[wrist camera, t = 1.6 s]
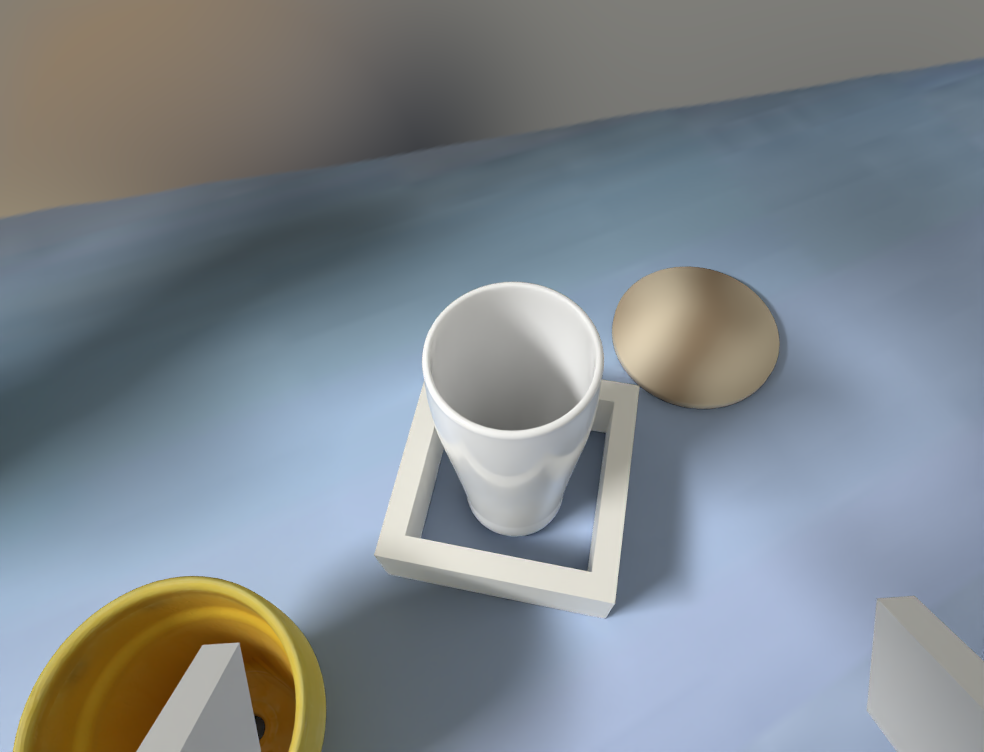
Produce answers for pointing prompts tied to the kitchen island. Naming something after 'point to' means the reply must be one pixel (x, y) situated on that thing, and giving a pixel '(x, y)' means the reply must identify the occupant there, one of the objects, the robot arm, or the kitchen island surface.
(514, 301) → the white cup
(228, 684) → the robot arm
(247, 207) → the kitchen island surface
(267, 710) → the plant pot
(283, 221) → the kitchen island surface
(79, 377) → the kitchen island surface
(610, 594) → the square holder
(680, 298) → the wooden coaster
